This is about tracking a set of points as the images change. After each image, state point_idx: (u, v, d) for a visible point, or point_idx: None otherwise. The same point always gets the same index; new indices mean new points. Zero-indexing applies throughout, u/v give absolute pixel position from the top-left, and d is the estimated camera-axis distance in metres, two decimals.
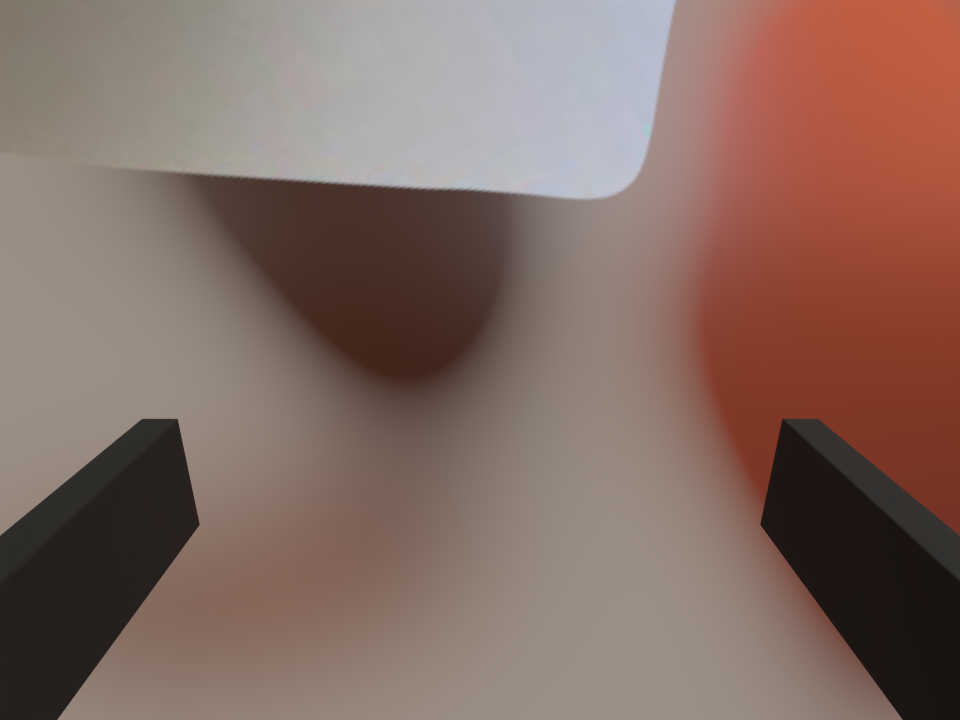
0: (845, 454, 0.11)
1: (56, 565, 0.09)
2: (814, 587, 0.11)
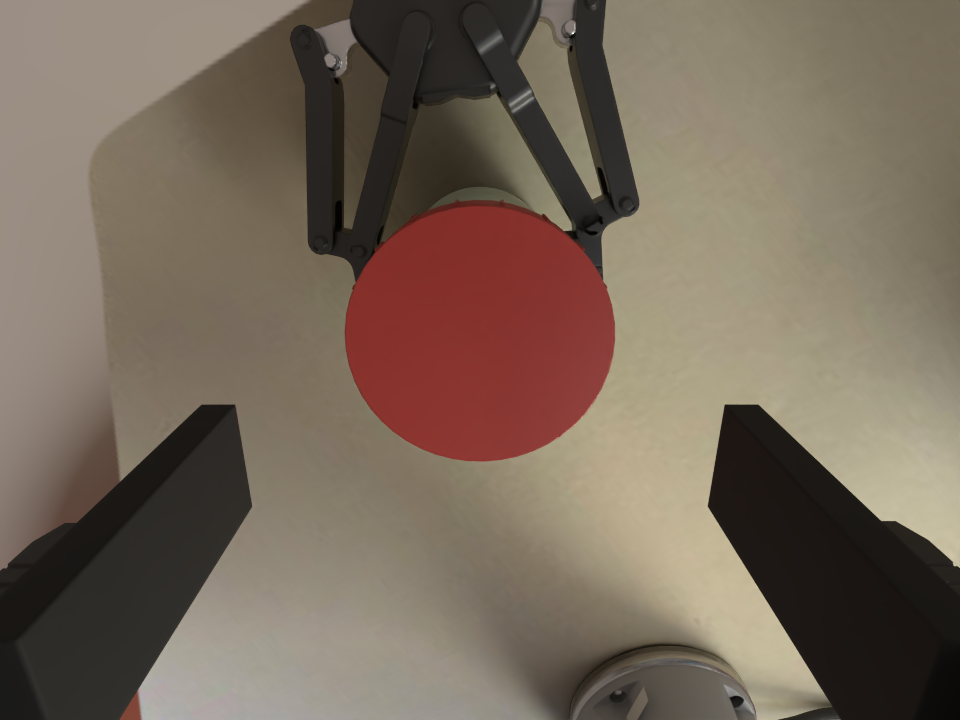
0: (777, 436, 0.11)
1: (143, 535, 0.09)
2: (749, 562, 0.12)
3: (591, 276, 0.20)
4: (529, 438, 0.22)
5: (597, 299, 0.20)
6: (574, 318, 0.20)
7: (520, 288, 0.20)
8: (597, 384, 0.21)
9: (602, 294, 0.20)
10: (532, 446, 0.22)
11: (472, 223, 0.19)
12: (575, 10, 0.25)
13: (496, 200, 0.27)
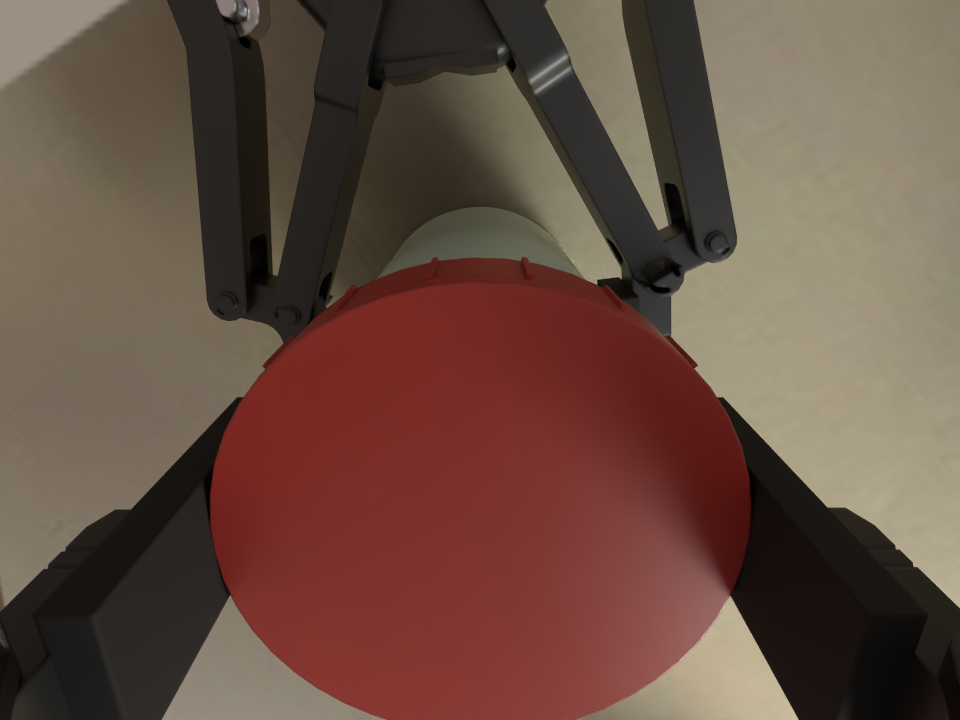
0: (736, 427, 0.12)
1: (194, 520, 0.10)
2: None
3: (712, 422, 0.10)
4: (573, 699, 0.12)
5: (721, 466, 0.10)
6: (671, 500, 0.10)
7: (564, 445, 0.10)
8: (708, 613, 0.11)
9: (732, 456, 0.10)
10: (578, 710, 0.12)
11: (464, 318, 0.09)
12: None
13: (507, 237, 0.17)
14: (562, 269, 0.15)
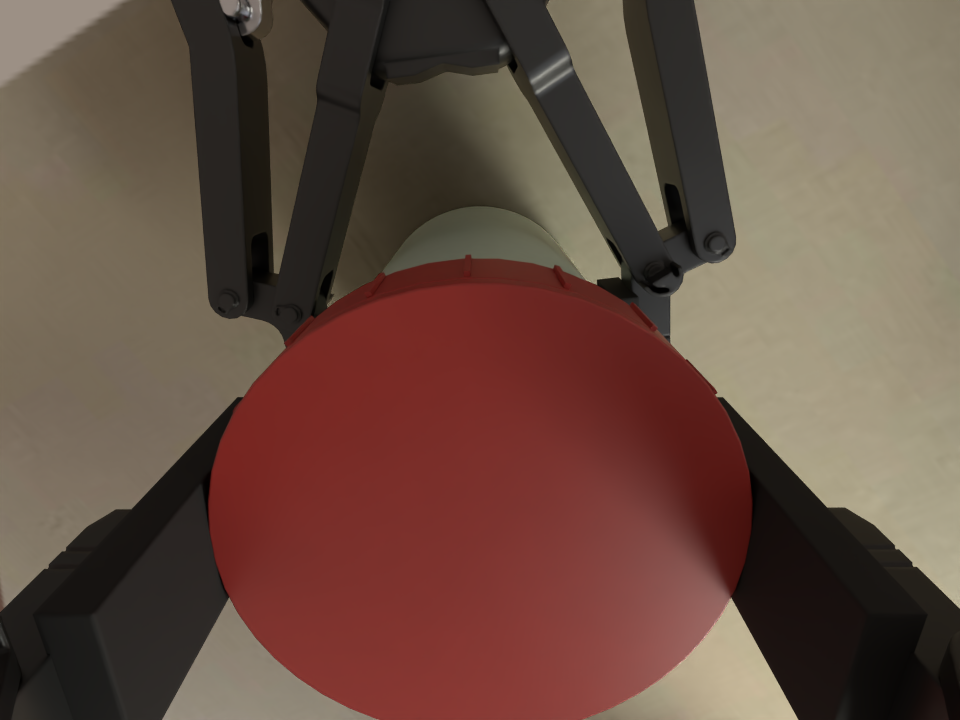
0: (736, 427, 0.12)
1: (194, 520, 0.10)
2: None
3: (265, 396, 0.09)
4: (673, 400, 0.09)
5: (305, 369, 0.09)
6: (364, 399, 0.09)
7: (344, 512, 0.10)
8: (497, 298, 0.09)
9: (290, 363, 0.09)
10: (693, 386, 0.09)
11: (267, 610, 0.11)
12: None
13: (507, 237, 0.17)
14: (562, 269, 0.15)
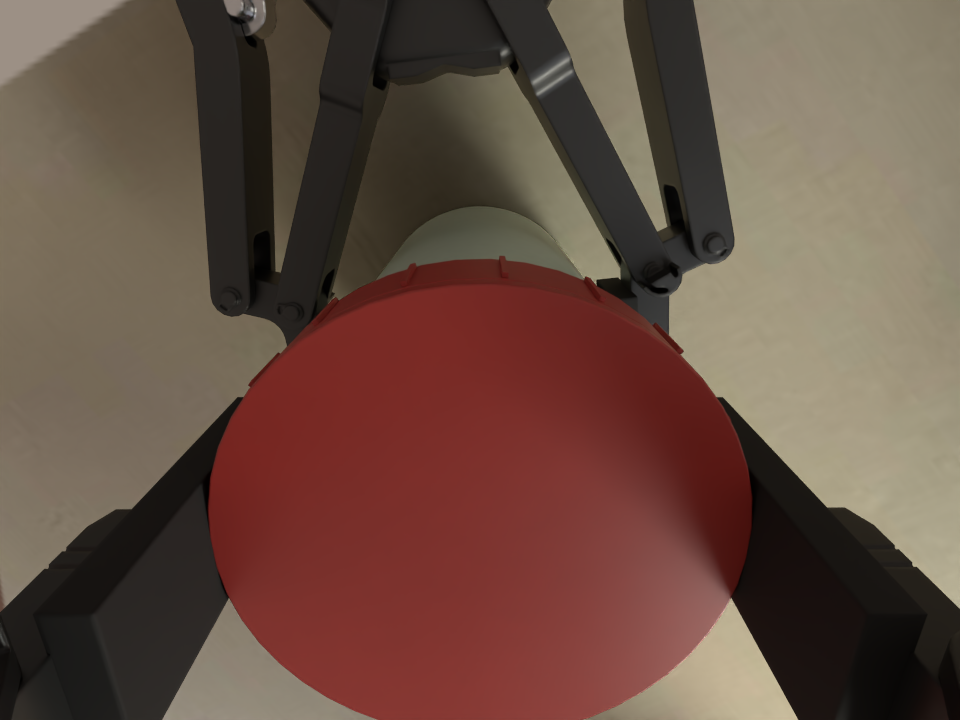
0: (736, 427, 0.12)
1: (195, 520, 0.10)
2: None
3: (389, 713, 0.12)
4: (259, 441, 0.10)
5: (355, 695, 0.12)
6: (364, 657, 0.11)
7: (477, 652, 0.11)
8: (239, 594, 0.11)
9: (354, 704, 0.12)
10: (239, 428, 0.10)
11: (606, 687, 0.12)
12: None
13: (508, 236, 0.17)
14: (562, 268, 0.15)
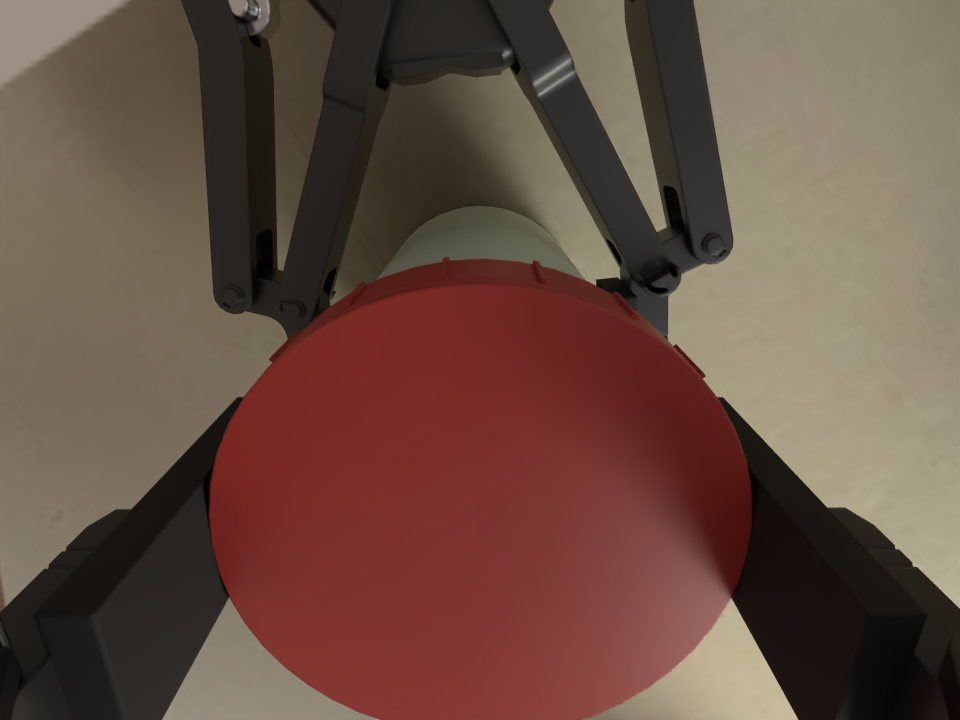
0: (736, 427, 0.12)
1: (195, 520, 0.10)
2: None
3: (726, 574, 0.11)
4: (430, 712, 0.12)
5: (703, 609, 0.11)
6: (648, 609, 0.11)
7: (616, 517, 0.10)
8: (592, 708, 0.12)
9: (716, 607, 0.11)
10: None
11: (642, 372, 0.09)
12: None
13: (508, 236, 0.17)
14: (562, 268, 0.15)
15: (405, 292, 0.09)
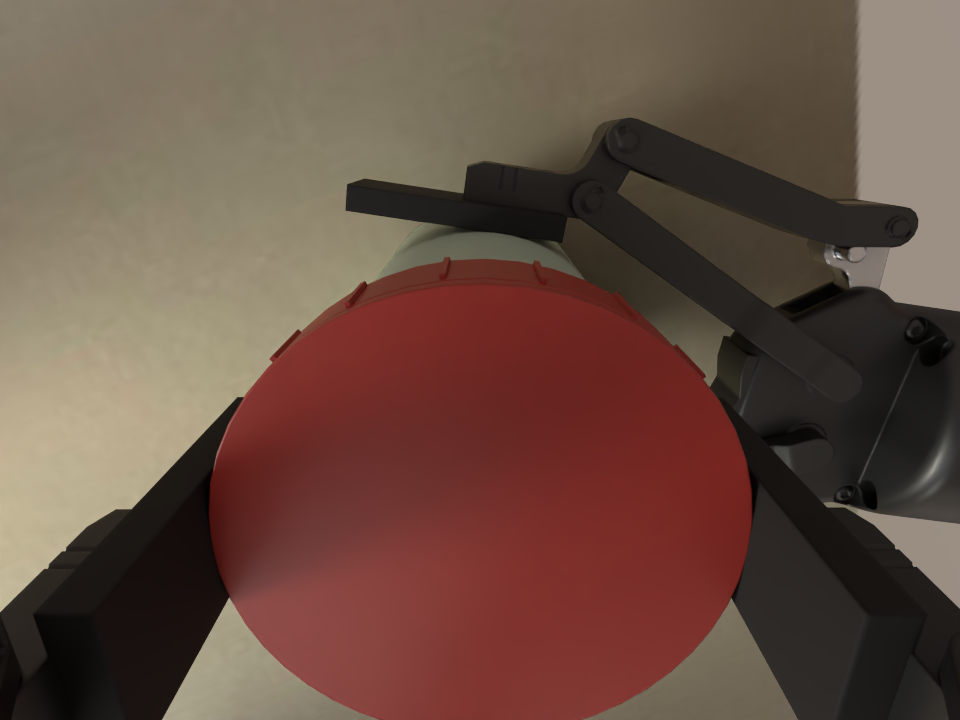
0: (736, 427, 0.12)
1: (195, 520, 0.10)
2: None
3: (726, 575, 0.11)
4: (430, 712, 0.12)
5: (703, 609, 0.11)
6: (648, 609, 0.11)
7: (617, 517, 0.10)
8: (592, 708, 0.12)
9: (716, 608, 0.11)
10: None
11: (642, 372, 0.09)
12: None
13: None
14: None
15: (405, 292, 0.09)
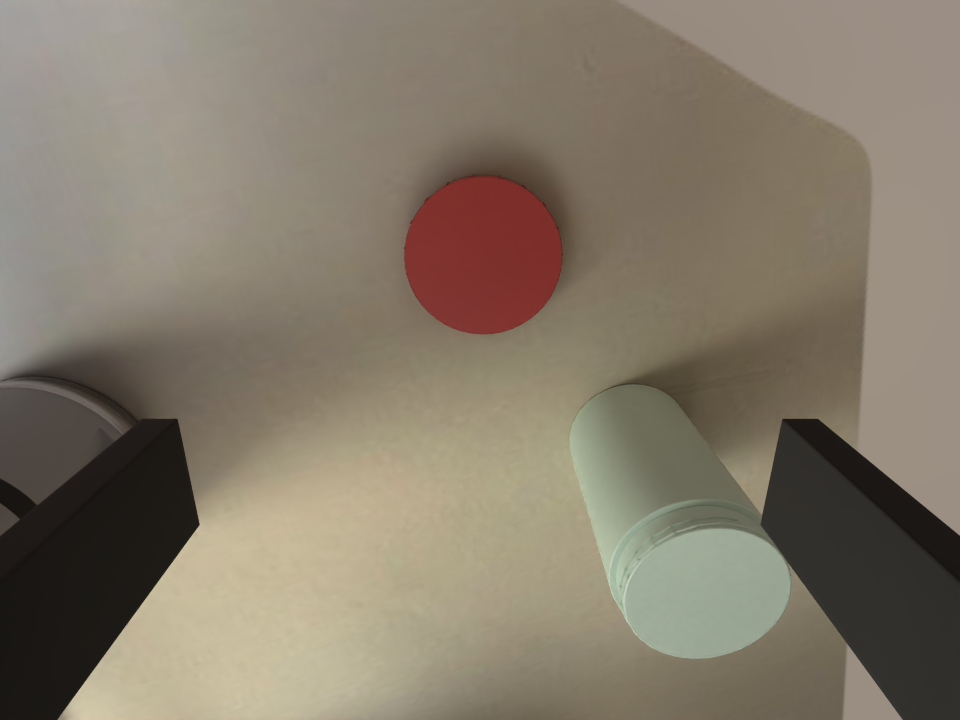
0: (845, 454, 0.11)
1: (56, 565, 0.09)
2: (813, 587, 0.11)
3: (556, 269, 0.36)
4: (467, 323, 0.37)
5: (550, 281, 0.36)
6: (534, 282, 0.36)
7: (522, 248, 0.35)
8: (519, 321, 0.37)
9: (554, 281, 0.36)
10: (465, 329, 0.37)
11: (526, 202, 0.34)
12: None
13: None
14: None
15: (464, 179, 0.34)
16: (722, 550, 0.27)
